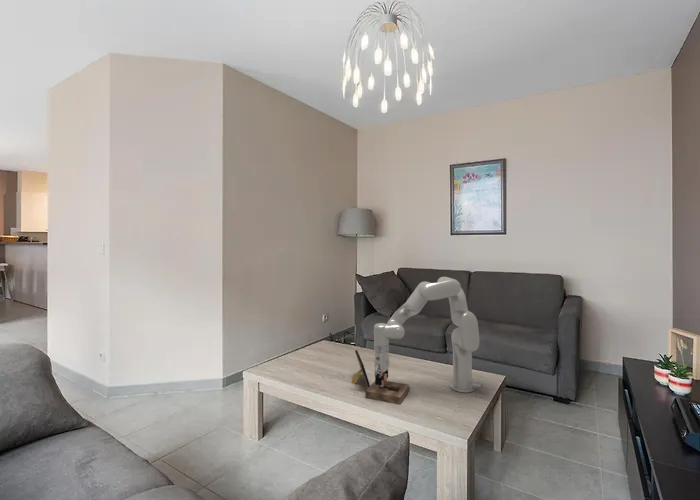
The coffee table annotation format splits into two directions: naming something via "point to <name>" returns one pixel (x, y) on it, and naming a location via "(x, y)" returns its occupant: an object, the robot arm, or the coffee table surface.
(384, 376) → the peg
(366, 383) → the picture frame
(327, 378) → the coffee table surface
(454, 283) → the robot arm
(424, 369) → the coffee table surface
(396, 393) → the keyhole board
